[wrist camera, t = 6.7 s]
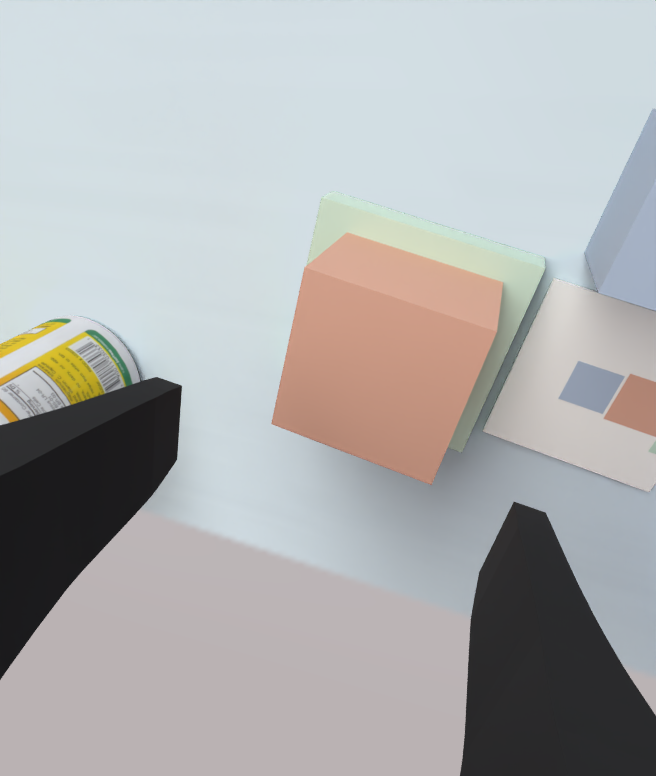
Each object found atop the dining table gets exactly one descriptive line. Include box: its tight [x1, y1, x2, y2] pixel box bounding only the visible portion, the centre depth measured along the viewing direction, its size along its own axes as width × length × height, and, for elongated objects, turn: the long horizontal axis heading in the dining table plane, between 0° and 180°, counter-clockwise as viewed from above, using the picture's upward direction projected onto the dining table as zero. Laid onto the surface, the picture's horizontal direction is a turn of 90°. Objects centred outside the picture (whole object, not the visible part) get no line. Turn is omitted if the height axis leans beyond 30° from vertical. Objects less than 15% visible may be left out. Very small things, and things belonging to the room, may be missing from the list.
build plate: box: [307, 191, 545, 453], centre depth 19 cm, size 7×7×1 cm
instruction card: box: [483, 278, 656, 492], centre depth 19 cm, size 6×6×1 cm
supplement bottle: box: [0, 315, 140, 425], centre depth 21 cm, size 5×5×10 cm
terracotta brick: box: [271, 232, 503, 485], centre depth 17 cm, size 5×5×4 cm
